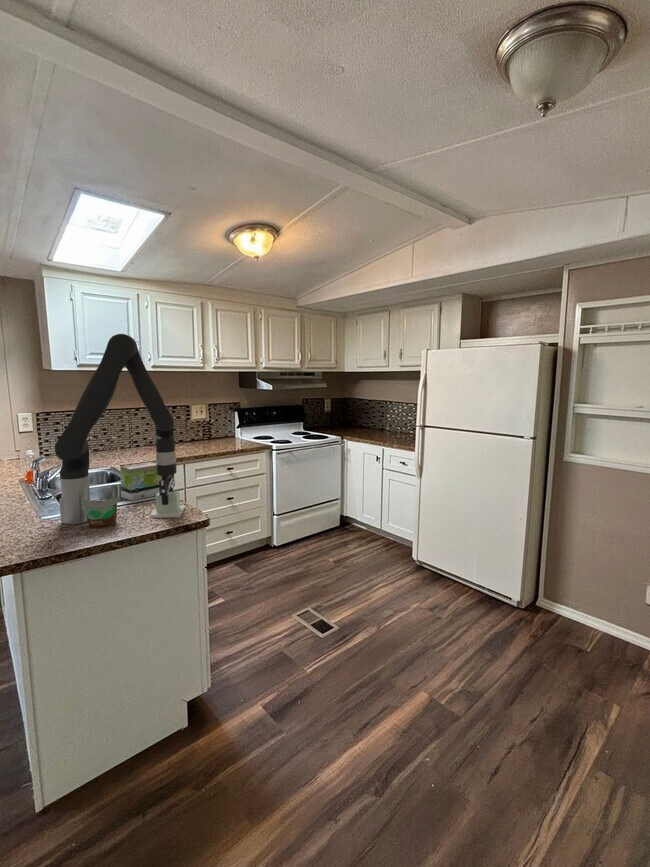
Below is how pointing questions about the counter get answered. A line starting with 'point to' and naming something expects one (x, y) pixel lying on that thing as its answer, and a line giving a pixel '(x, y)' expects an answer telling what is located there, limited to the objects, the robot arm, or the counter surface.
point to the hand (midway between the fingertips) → (167, 501)
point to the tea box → (139, 481)
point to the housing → (172, 503)
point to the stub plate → (167, 513)
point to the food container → (101, 512)
